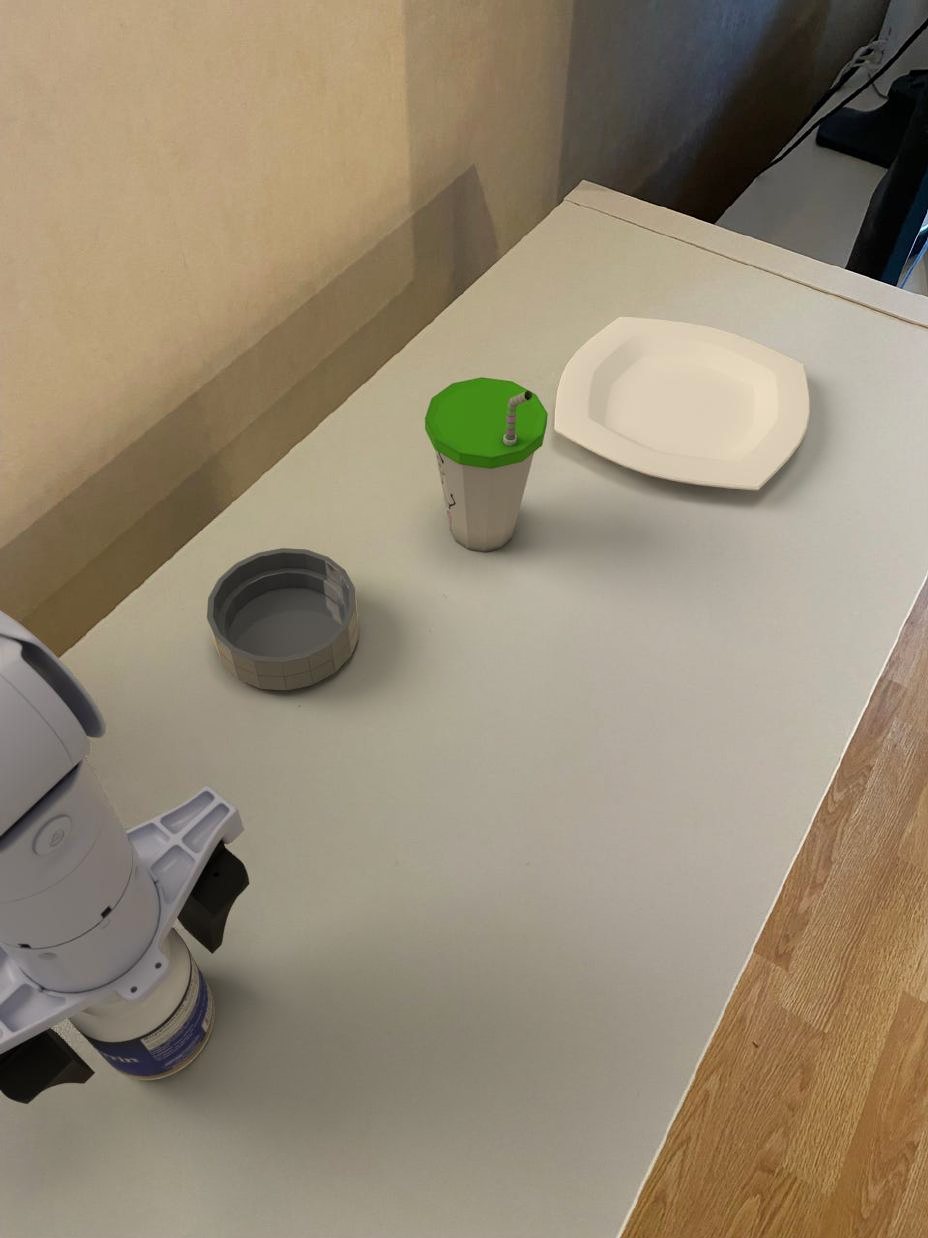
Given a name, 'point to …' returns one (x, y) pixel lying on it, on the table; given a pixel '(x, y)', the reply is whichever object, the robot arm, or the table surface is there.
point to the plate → (684, 403)
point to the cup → (484, 455)
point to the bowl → (284, 618)
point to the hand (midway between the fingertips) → (142, 997)
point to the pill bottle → (154, 1021)
